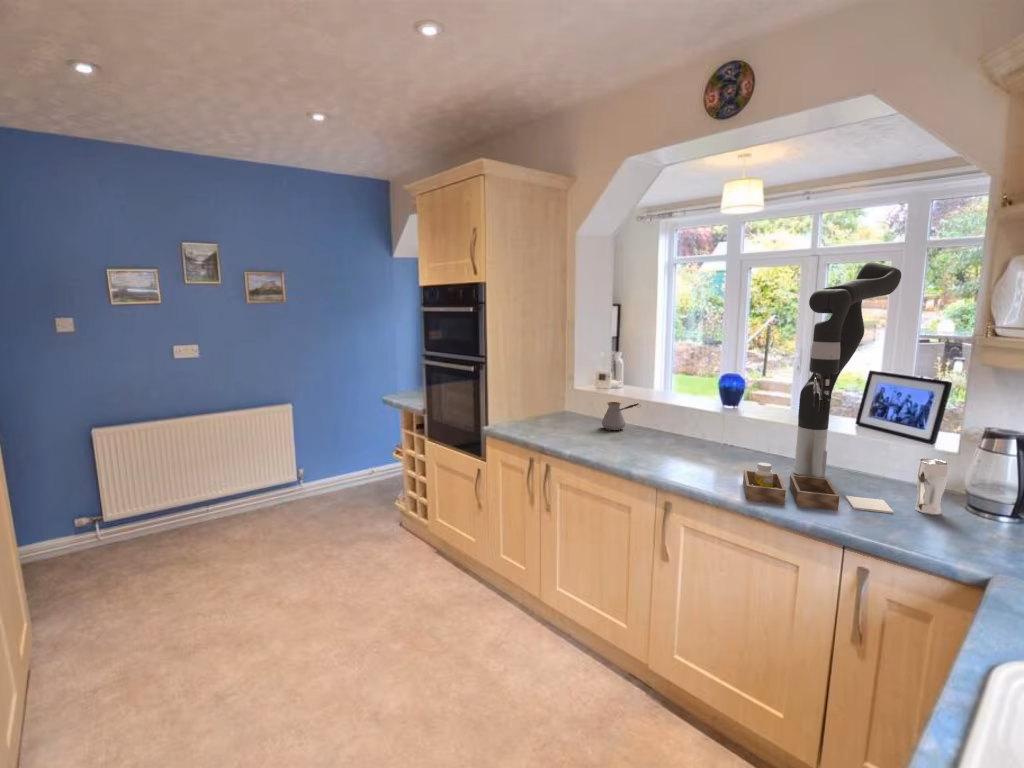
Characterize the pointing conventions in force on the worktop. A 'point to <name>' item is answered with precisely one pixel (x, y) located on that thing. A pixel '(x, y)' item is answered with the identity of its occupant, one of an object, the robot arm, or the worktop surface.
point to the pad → (869, 504)
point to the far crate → (764, 489)
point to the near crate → (810, 498)
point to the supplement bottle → (763, 475)
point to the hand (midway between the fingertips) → (820, 410)
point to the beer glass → (931, 485)
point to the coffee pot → (615, 416)
